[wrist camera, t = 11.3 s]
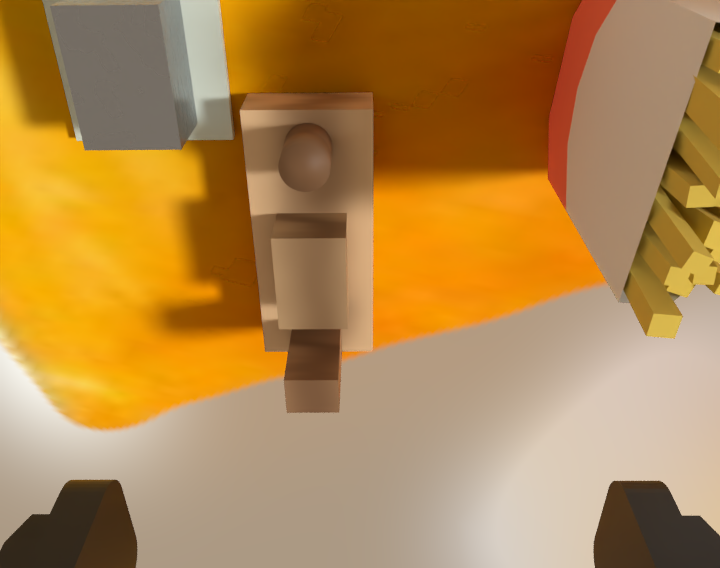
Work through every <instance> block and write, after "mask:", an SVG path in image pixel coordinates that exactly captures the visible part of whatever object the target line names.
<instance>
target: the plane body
mask: <svg viewBox="0 0 720 568" xmlns="http://www.w3.org/2000/svg"><path fill="white" fill-rule="evenodd" d="M240 118H241V128H242V137H243V147H244V156H245V165H246V175H247V184H248V194H249V203H250V212H251V222H252V231H253V241H254V250H255V259H256V269H257V278H258V288H259V297H260V306H261V316H262V325H263V335H264V344H265V352H288V357H287V364H286V370H285V377H284V386H285V397H286V408H287V413H289V412H290V413H291V412H293V413H294V412H295V413H296V412H339V404H340V382H341V359H342V351H373V92H350V93H248V94H247V96H246V98H245V100H244V102H243V104H242V106H241V109H240Z"/></svg>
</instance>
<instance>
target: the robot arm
mask: <svg viewBox="0 0 720 568" xmlns="http://www.w3.org/2000/svg"><path fill="white" fill-rule="evenodd" d="M136 561H137V540H136V535H135V532H134V528H133V525H132V521H131V518H130V514H129V511H128V508H127V504H126V501H125V497H124V494H123V491H122V487H121V484H120V483H119V481H117V480H70V481H68V482H67V483H66V484H65V485H64V487H63V488H62V490H61V492H60V494H59V496H58V498H57V500H56V502H55V504H54V507H53V509H52V511H51V513H50V514H45V515H44V514H41V515H40V514H33V515H31V516H30V517H29V518H28V519H27V520H26V521H25V522H24V523H23V525H21V526H20V527H19V528H18V529H17V530H16V531H15V532H14V533H13V534H12V535H11V536H10V537H9V538H8V540H6V542H5V543H4V544H3V546H2V549H1V550H0V568H136ZM594 563H595V568H720V536H719V535H718V534H717V533H716V532H715V531H714V530H713V529H712V528H711V527H710V526H709V525H708V524H707V523H706V522H705V521H704V520H703V518H702V517H700V516H682V515H681V514H680V511H679V509H678V507H677V505H676V503H675V501H674V499H673V497H672V495H671V493H670V491H669V489H668V487H667V486H666V485H665V484H664V483H663V482H661V481H613V482H612V483H611V484H610V487H609V490H608V493H607V496H606V500H605V504H604V507H603V511H602V514H601V518H600V521H599V525H598V529H597V532H596V535H595V540H594Z"/></svg>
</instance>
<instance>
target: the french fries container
mask: <svg viewBox="0 0 720 568" xmlns="http://www.w3.org/2000/svg"><path fill="white" fill-rule="evenodd" d="M548 180H549V181H550V183H551V185H552V187H553V188H554V190H555V192H556V194H557V195H558V197H559V199H560V201H561V202H562V204H563V206H564V208H565V209H566V211H567V213H568V215H569V216H570V218H571V220H572V222H573V223H574V225H575V227H576V229H577V230H578V232H579V234H580V236H581V237H582V239H583V241H584V243H585V244H586V246H587V248H588V250H589V251H590V253H591V255H592V257H593V258H594V260H595V262H596V264H597V265H598V267H599V269H600V271H601V272H602V274H603V276H604V278H605V279H606V281H607V283H608V285H609V286H610V288H611V290H612V291H613V293H614V295H615V297H616V299H617V300H618V302H622V303H630V304H631V306H632V308H633V310H634V312H635V314H636V316H637V318H638V320H639V322H640V324H641V326H642V328H643V330H644V332H645V334H646V336H653V337H664V338H675V336H676V333H677V331H678V328H679V325H680V322H681V320H682V317H683V316H682V314H681V312H680V311H679V309H678V308H677V306H676V304H675V303H674V300H676V299H677V298H678V297H679V296H684V297H688V295H689V294H690V292H691V291H692V289H693V288H694V286H695V285H696V284H702V285H706V286H707V287H708V288H709V289H710V290H711V291H712V292H713V293H714V294H719V295H720V264H719V263H720V0H582V1H581V3H580V5H579V7H578V9H577V10H576V12H575V14H574V16H573V18H572V22H571V26H570V30H569V35H568V39H567V43H566V47H565V52H564V56H563V60H562V64H561V68H560V73H559V77H558V81H557V85H556V90H555V94H554V98H553V102H552V106H551V111H550V115H549V144H548Z"/></svg>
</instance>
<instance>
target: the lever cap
mask: <svg viewBox="0 0 720 568" xmlns="http://www.w3.org/2000/svg"><path fill="white" fill-rule="evenodd" d="M50 8H51V12H52V17H53V21H54V25H55V29H56V33H57V37H58V41H59V45H60V50H61V54H62V58H63V62H64V66H65V70H66V74H67V78H68V83H69V87H70V91H71V95H72V99H73V103H74V107H75V111H76V115H77V120H78V124H79V128H80V132H81V136H82V140H83V144H84V148H85V150H170V149H182V148H183V146H184V145H185V143H186V141H187V140H188V138H189V137H190V135H191V133H192V132H193V130H194V128H195V127H196V125H197V124H198V122H197V115H196V108H195V101H194V94H193V87H192V80H191V73H190V67H189V60H188V53H187V46H186V39H185V32H184V25H183V18H182V11H181V4H180V0H61V1H58V2H56V3H54V4H52V5H50Z"/></svg>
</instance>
